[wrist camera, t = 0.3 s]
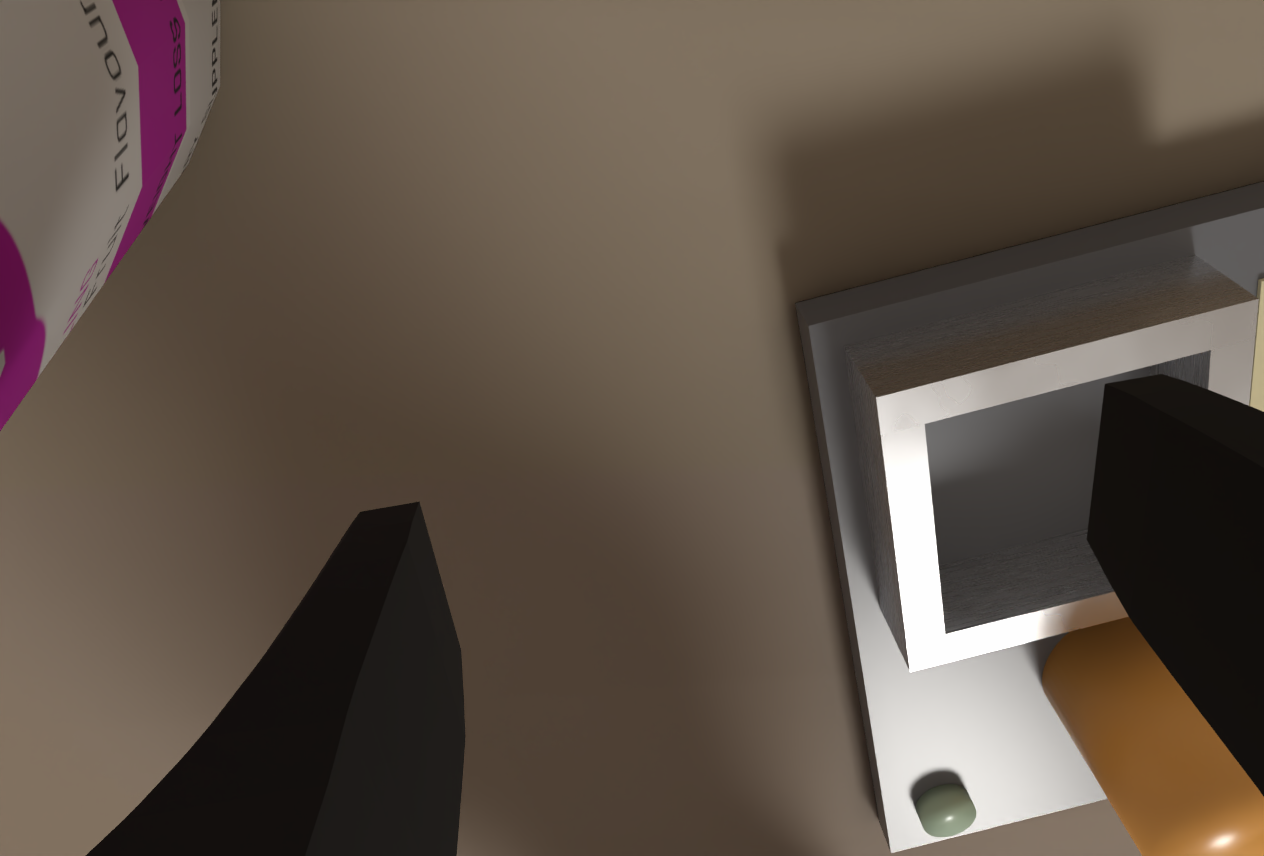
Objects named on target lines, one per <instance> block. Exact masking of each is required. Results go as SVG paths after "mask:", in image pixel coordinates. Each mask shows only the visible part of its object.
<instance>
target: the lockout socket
mask: <svg viewBox="0 0 1264 856" xmlns="http://www.w3.org/2000/svg"><path fill="white" fill-rule="evenodd" d="M1258 302H1259V299H1258V298H1257V297H1255V296H1254V295H1253V294H1251V293H1250V292H1248V291H1247V290H1245V289H1244V288H1243V287H1241V286H1240V285H1238V284H1237V283H1235V282H1234V281H1232V280H1231V279H1230V278H1228V277H1227V276H1225V275H1224V274H1222V273H1221V272H1219V271H1218V270H1217V269H1215V268H1214V267H1212V266H1211V265H1209V264H1208V263H1206V262H1205V261H1204V260H1202V259H1201V258H1199V257H1198V256H1196V255H1195V254H1194V255H1191V256H1187V257H1183V258H1179V259H1175V260H1171V261H1167V262H1164V263H1160V264H1156V265H1152V266H1148V267H1144V268H1140V269H1137V270H1133V271H1129V272H1125V273H1121V274H1117V275H1113V276H1110V277H1106V278H1102V279H1098V280H1094V281H1090V282H1086V283H1083V284H1079V285H1075V286H1071V287H1067V288H1063V289H1059V290H1056V291H1052V292H1048V293H1044V294H1040V295H1036V296H1032V297H1029V298H1025V299H1021V300H1017V301H1013V302H1009V303H1005V304H1002V305H998V306H994V307H990V308H986V309H982V310H978V311H975V312H971V313H967V314H963V315H959V316H955V317H951V318H948V319H944V320H940V321H936V322H932V323H928V324H924V325H921V326H917V327H913V328H909V329H905V330H901V331H897V332H894V333H890V334H886V335H882V336H878V337H874V338H870V339H867V340H863V341H859V342H855V343H851V344H847V345H844V352H845V359H846V366H847V374H848V381H849V388H850V395H851V403H852V410H853V417H854V424H855V431H856V439H857V446H858V453H859V460H860V467H861V475H862V482H863V489H864V496H865V504H866V511H867V518H868V525H869V532H870V540H871V547H872V554H873V561H874V568H875V576H876V583H877V590H878V597H879V605H880V610H881V612H882V614H883V616H884V618H885V620H886V622H887V624H888V626H889V629H890V631H891V633H892V635H893V637H894V639H895V641H896V643H897V645H898V648H899V650H900V652H901V654H902V656H903V658H904V660H905V662H906V664H907V667H908V669H909V671H910V672H913V671H917V670H921V669H924V668H928V667H932V666H936V665H940V664H944V663H948V662H952V661H956V660H960V659H964V658H968V657H972V656H976V655H980V654H984V653H987V652H991V651H995V650H999V649H1003V648H1007V647H1011V646H1015V645H1019V644H1023V643H1027V642H1031V641H1035V640H1039V639H1043V638H1047V637H1050V636H1054V635H1058V634H1062V633H1066V632H1070V631H1074V630H1078V629H1082V628H1086V627H1090V626H1094V625H1098V624H1102V623H1106V622H1110V621H1114V620H1117V619H1121V618H1125V617H1129V616H1128V614H1127V613H1126V611H1125V609H1124V607H1123V606H1122V604H1121V602H1120V600H1119V599H1118V597H1117V595H1116V594H1115V592H1114V590H1113V588H1112V587H1111V585H1110V583H1109V581H1108V579H1107V577H1106V575H1105V574H1104V572H1103V570H1102V568H1101V566H1100V564H1099V562H1098V560H1097V558H1096V556H1095V555H1094V553H1093V551H1092V549H1091V547H1090V545H1089V543H1088V541H1087V531H1088V528H1085V529H1081V530H1077V531H1073V532H1069V533H1065V534H1061V535H1057V536H1053V537H1050V538H1046V539H1042V540H1038V541H1034V542H1030V543H1026V544H1022V545H1018V546H1014V547H1010V548H1006V549H1003V550H999V551H995V552H991V553H987V554H983V555H979V556H975V557H971V558H967V559H963V560H959V561H956V562H952V563H948V564H944V565H940V566H938V557H937V546H936V536H935V526H934V515H933V505H932V495H931V485H930V474H929V464H928V454H927V444H926V433H925V424H926V423H930V422H934V421H938V420H942V419H946V418H949V417H953V416H957V415H961V414H965V413H969V412H973V411H977V410H981V409H984V408H988V407H992V406H996V405H1000V404H1004V403H1008V402H1012V401H1015V400H1019V399H1023V398H1027V397H1031V396H1035V395H1039V394H1043V393H1047V392H1050V391H1054V390H1058V389H1062V388H1066V387H1070V386H1074V385H1078V384H1081V383H1085V382H1089V381H1093V380H1097V379H1101V378H1105V377H1109V376H1112V375H1116V374H1120V373H1124V372H1128V371H1132V370H1136V369H1140V368H1144V367H1147V366H1150V376H1153V375H1158V374H1164V375H1167V376H1170V377H1173V378H1177V379H1180V380H1183V381H1186V382H1189V383H1192V384H1194V385H1197V386H1200V387H1203V388H1205V389H1208V390H1211V391H1213V392H1216V393H1218V394H1221V395H1223V396H1226V397H1228V398H1231V399H1233V400H1236V401H1239V402H1241V403H1243V404H1246V405H1248V406H1249V400H1250V389H1251V378H1252V367H1253V357H1254V346H1255V335H1256V324H1257V313H1258Z"/></svg>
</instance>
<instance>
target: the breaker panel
mask: <svg viewBox="0 0 1264 856" xmlns="http://www.w3.org/2000/svg"><path fill="white" fill-rule="evenodd" d="M1194 254H1195V255H1196V256H1198V257H1199V258H1201V259H1202V260H1204V261H1205V262H1206V263H1208V264H1209V265H1211V266H1212V267H1214V268H1215V269H1217V270H1218V271H1219V272H1221V273H1222V274H1224V275H1225V276H1227V277H1228V278H1230V279H1231V280H1232V281H1234V282H1235V283H1237V284H1238V285H1240V286H1241V287H1243V288H1244V289H1245V290H1247V291H1248V292H1250V293H1251V294H1253V295H1254V296H1255V297H1257V298H1258V299H1259V302H1258V313H1257V324H1256V335H1255V346H1254V357H1253V367H1252V378H1251V389H1250V400H1249V406H1251V407H1253V408H1256V409H1258V410H1261V411H1263V412H1264V182H1260V183H1256V184H1252V185H1248V186H1245V187H1241V188H1237V189H1233V190H1229V191H1225V192H1221V193H1218V194H1214V195H1210V196H1206V197H1202V198H1198V199H1195V200H1191V201H1187V202H1183V203H1179V204H1175V205H1172V206H1168V207H1164V208H1160V209H1156V210H1152V211H1148V212H1145V213H1141V214H1137V215H1133V216H1129V217H1125V218H1122V219H1118V220H1114V221H1110V222H1106V223H1102V224H1098V225H1095V226H1091V227H1087V228H1083V229H1079V230H1075V231H1072V232H1068V233H1064V234H1060V235H1056V236H1052V237H1048V238H1045V239H1041V240H1037V241H1033V242H1029V243H1025V244H1022V245H1018V246H1014V247H1010V248H1006V249H1002V250H998V251H995V252H991V253H987V254H983V255H979V256H975V257H972V258H968V259H964V260H960V261H956V262H952V263H949V264H945V265H941V266H937V267H933V268H929V269H925V270H922V271H918V272H914V273H910V274H906V275H902V276H899V277H895V278H891V279H887V280H883V281H879V282H875V283H872V284H868V285H864V286H860V287H856V288H852V289H849V290H845V291H841V292H837V293H833V294H829V295H825V296H822V297H818V298H814V299H810V300H806V301H802V302H799V303H795V304H796V311H797V317H798V323H799V329H800V335H801V342H802V348H803V354H804V360H805V366H806V372H807V379H808V385H809V391H810V397H811V403H812V409H813V416H814V422H815V428H816V434H817V440H818V447H819V453H820V459H821V465H822V471H823V477H824V484H825V490H826V496H827V502H828V508H829V514H830V521H831V527H832V533H833V539H834V545H835V552H836V558H837V564H838V570H839V576H840V582H841V589H842V595H843V601H844V607H845V613H846V619H847V626H848V632H849V638H850V644H851V650H852V657H853V663H854V669H855V675H856V681H857V687H858V694H859V700H860V706H861V712H862V718H863V724H864V731H865V737H866V743H867V749H868V755H869V762H870V768H871V774H872V780H873V786H874V792H875V799H876V805H877V811H878V817H879V823H880V825H881V828H882V830H883V833H884V836H885V838H886V841H887V844H888V846H889V849H890V852H891V853H893V852H897V851H901V850H905V849H909V848H913V847H917V846H921V845H925V844H929V843H933V842H937V841H941V840H945V839H949V838H953V837H957V836H961V835H965V834H969V833H973V832H977V831H981V830H985V829H989V828H993V827H997V826H1001V825H1005V824H1009V823H1013V822H1017V821H1021V820H1025V819H1029V818H1033V817H1037V816H1041V815H1045V814H1049V813H1053V812H1057V811H1061V810H1065V809H1069V808H1073V807H1077V806H1081V805H1085V804H1089V803H1093V802H1097V801H1101V800H1104V799H1108V798H1107V796H1106V795H1105V793H1104V791H1103V790H1102V788H1101V786H1100V785H1099V783H1098V782H1097V780H1096V778H1095V777H1094V775H1093V773H1092V772H1091V770H1090V768H1089V767H1088V765H1087V763H1086V762H1085V760H1084V758H1083V757H1082V755H1081V753H1080V752H1079V750H1078V748H1077V747H1076V745H1075V744H1074V742H1073V740H1072V739H1071V737H1070V735H1069V734H1068V732H1067V730H1066V729H1065V727H1064V725H1063V724H1062V722H1061V720H1060V719H1059V717H1058V715H1057V714H1056V712H1055V711H1054V709H1053V707H1052V706H1051V704H1050V702H1049V701H1048V699H1047V697H1046V695H1045V693H1044V690H1043V686H1042V674H1043V669H1044V666H1045V663H1046V661H1047V659H1048V657H1049V655H1050V653H1051V652H1052V650H1053V649H1054V648H1055V646H1056V645H1057V644H1058V643H1059V641H1060V640H1061V639H1062V638H1063V637H1064V636H1065V635H1066V634H1068V633H1069V632H1066V633H1062V634H1058V635H1054V636H1050V637H1047V638H1043V639H1039V640H1035V641H1031V642H1027V643H1023V644H1019V645H1015V646H1011V647H1007V648H1003V649H999V650H995V651H991V652H987V653H984V654H980V655H976V656H972V657H968V658H964V659H960V660H956V661H952V662H948V663H944V664H940V665H936V666H932V667H928V668H924V669H921V670H917V671H913V672H910V671H909V669H908V667H907V664H906V662H905V660H904V658H903V656H902V654H901V652H900V650H899V648H898V645H897V643H896V641H895V639H894V637H893V635H892V633H891V631H890V629H889V626H888V624H887V622H886V620H885V618H884V616H883V614H882V612H881V610H880V605H879V597H878V590H877V583H876V576H875V568H874V561H873V554H872V547H871V540H870V532H869V525H868V518H867V511H866V504H865V496H864V489H863V482H862V475H861V467H860V460H859V453H858V446H857V439H856V431H855V424H854V417H853V410H852V403H851V395H850V388H849V381H848V374H847V366H846V359H845V352H844V345H847V344H851V343H855V342H859V341H863V340H867V339H870V338H874V337H878V336H882V335H886V334H890V333H894V332H897V331H901V330H905V329H909V328H913V327H917V326H921V325H924V324H928V323H932V322H936V321H940V320H944V319H948V318H951V317H955V316H959V315H963V314H967V313H971V312H975V311H978V310H982V309H986V308H990V307H994V306H998V305H1002V304H1005V303H1009V302H1013V301H1017V300H1021V299H1025V298H1029V297H1032V296H1036V295H1040V294H1044V293H1048V292H1052V291H1056V290H1059V289H1063V288H1067V287H1071V286H1075V285H1079V284H1083V283H1086V282H1090V281H1094V280H1098V279H1102V278H1106V277H1110V276H1113V275H1117V274H1121V273H1125V272H1129V271H1133V270H1137V269H1140V268H1144V267H1148V266H1152V265H1156V264H1160V263H1164V262H1167V261H1171V260H1175V259H1179V258H1183V257H1187V256H1191V255H1194ZM1147 376H1150V366H1147V367H1144V368H1140V369H1136V370H1132V371H1128V372H1124V373H1120V374H1116V375H1112V376H1109V377H1105V378H1101V379H1097V380H1093V381H1089V382H1085V383H1081V384H1078V385H1074V386H1070V387H1066V388H1062V389H1058V390H1054V391H1050V392H1047V393H1043V394H1039V395H1035V396H1031V397H1027V398H1023V399H1019V400H1015V401H1012V402H1008V403H1004V404H1000V405H996V406H992V407H988V408H984V409H981V410H977V411H973V412H969V413H965V414H961V415H957V416H953V417H949V418H946V419H942V420H938V421H934V422H930V423H926V424H925V433H926V444H927V454H928V464H929V474H930V485H931V495H932V505H933V515H934V526H935V536H936V546H937V557H938V566H940V565H944V564H948V563H952V562H956V561H959V560H963V559H967V558H971V557H975V556H979V555H983V554H987V553H991V552H995V551H999V550H1003V549H1006V548H1010V547H1014V546H1018V545H1022V544H1026V543H1030V542H1034V541H1038V540H1042V539H1046V538H1050V537H1053V536H1057V535H1061V534H1065V533H1069V532H1073V531H1077V530H1081V529H1085V528H1088V523H1089V514H1090V506H1091V497H1092V489H1093V480H1094V472H1095V463H1096V455H1097V446H1098V437H1099V429H1100V420H1101V412H1102V403H1103V395H1104V386H1105V384H1106V383H1112V382H1118V381H1124V380H1129V379H1135V378H1141V377H1147Z"/></svg>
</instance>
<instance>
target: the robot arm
mask: <svg viewBox="0 0 1264 856" xmlns="http://www.w3.org/2000/svg"><path fill="white" fill-rule="evenodd" d="M1087 541H1088V543H1089V545H1090V547H1091V549H1092V551H1093V553H1094V555H1095V556H1096V558H1097V560H1098V562H1099V564H1100V566H1101V568H1102V570H1103V572H1104V574H1105V575H1106V577H1107V579H1108V581H1109V583H1110V585H1111V587H1112V588H1113V590H1114V592H1115V594H1116V595H1117V597H1118V599H1119V600H1120V602H1121V604H1122V606H1123V607H1124V609H1125V611H1126V613H1127V614H1128V616H1129V618H1130V619H1131V621H1132V622H1133V623H1134V625H1135V626H1136V627H1137V629H1138V630H1139V632H1140V633H1141V634H1142V636H1143V637H1144V639H1145V640H1146V641H1147V643H1148V644H1149V645H1150V647H1151V648H1152V649H1153V651H1154V652H1155V653H1156V655H1157V656H1158V657H1159V659H1160V660H1161V661H1162V663H1163V664H1164V665H1165V667H1166V668H1167V669H1168V671H1169V672H1170V673H1171V675H1172V676H1173V677H1174V679H1175V680H1176V681H1177V683H1178V684H1179V685H1180V687H1181V688H1182V689H1183V691H1184V692H1185V693H1186V695H1187V696H1188V697H1189V698H1190V700H1191V701H1192V702H1193V704H1194V705H1195V706H1196V708H1197V709H1198V710H1199V712H1200V713H1201V714H1202V716H1203V717H1204V718H1205V719H1206V721H1207V722H1208V723H1209V725H1210V726H1211V727H1212V729H1213V730H1214V731H1215V733H1216V734H1217V735H1218V737H1219V738H1220V739H1221V741H1222V742H1223V743H1224V744H1225V746H1226V747H1227V748H1228V750H1229V751H1230V752H1231V754H1232V755H1233V756H1234V758H1235V759H1236V760H1237V762H1238V763H1239V764H1240V766H1241V767H1242V768H1243V769H1244V771H1245V772H1246V773H1247V775H1248V776H1249V777H1250V779H1251V780H1252V781H1253V783H1254V784H1255V785H1256V787H1257V788H1258V789H1259V791H1260V792H1261V794H1262V795H1263V796H1264V412H1263V411H1261V410H1258V409H1256V408H1253V407H1251V406H1248V405H1246V404H1243V403H1241V402H1239V401H1236V400H1233V399H1231V398H1228V397H1226V396H1223V395H1221V394H1218V393H1216V392H1213V391H1211V390H1208V389H1205V388H1203V387H1200V386H1197V385H1194V384H1192V383H1189V382H1186V381H1183V380H1180V379H1177V378H1173V377H1170V376H1167V375H1164V374H1158V375H1153V376H1147V377H1141V378H1135V379H1129V380H1124V381H1118V382H1112V383H1106V384H1105V386H1104V395H1103V403H1102V412H1101V420H1100V429H1099V437H1098V446H1097V455H1096V463H1095V472H1094V480H1093V489H1092V497H1091V506H1090V514H1089V523H1088V531H1087ZM464 748H465V719H464V695H463V677H462V659H461V648H460V645H459V641H458V638H457V634H456V631H455V627H454V623H453V620H452V616H451V613H450V609H449V606H448V602H447V599H446V595H445V591H444V588H443V584H442V581H441V577H440V574H439V570H438V567H437V563H436V559H435V556H434V552H433V549H432V545H431V542H430V538H429V535H428V531H427V527H426V524H425V520H424V517H423V513H422V510H421V506H420V502H415V503H409V504H404V505H398V506H392V507H386V508H380V509H375V510H369V511H363V512H360V513H359V514H358V516H357V517H356V518H355V520H354V521H353V522H352V524H351V525H350V527H349V528H348V530H347V531H346V533H345V534H344V536H343V537H342V539H341V541H340V542H339V544H338V545H337V547H336V548H335V550H334V552H333V553H332V555H331V556H330V558H329V559H328V561H327V563H326V564H325V566H324V567H323V569H322V570H321V572H320V574H319V575H318V577H317V578H316V580H315V581H314V583H313V584H312V586H311V587H310V589H309V590H308V592H307V593H306V595H305V597H304V598H303V600H302V601H301V603H300V604H299V606H298V607H297V608H296V610H295V611H294V613H293V614H292V616H291V617H290V619H289V620H288V621H287V623H286V624H285V626H284V627H283V629H282V630H281V632H280V633H279V634H278V636H277V637H276V639H275V640H274V642H273V643H272V645H271V646H270V647H269V649H268V650H267V652H266V653H265V655H264V656H263V657H262V659H261V660H260V661H259V663H258V664H257V665H256V667H255V668H254V669H253V671H252V672H251V673H250V675H249V676H248V677H247V678H246V680H245V681H244V682H243V684H242V685H241V686H240V688H239V689H238V690H237V691H236V693H235V694H234V695H233V697H232V698H231V699H230V700H229V702H228V703H227V704H226V706H225V707H224V708H223V709H222V711H221V712H220V713H219V715H218V716H217V717H216V719H215V720H214V721H213V722H212V724H211V725H210V726H209V727H208V729H207V730H206V731H205V732H204V733H203V735H202V736H201V737H200V738H199V739H198V740H197V742H196V743H195V744H194V745H193V746H192V747H191V749H190V750H189V751H188V752H187V753H186V754H185V755H184V757H183V758H182V759H181V760H180V761H179V762H178V763H177V764H176V765H175V766H174V768H173V769H172V770H171V771H170V772H169V773H168V774H167V775H166V776H165V777H164V778H163V779H162V780H161V781H160V783H159V784H158V785H157V786H156V787H155V788H154V789H153V790H152V791H151V792H150V793H149V794H148V795H147V796H146V798H145V799H144V800H143V801H142V802H141V803H140V804H139V805H138V806H137V807H136V808H135V809H134V810H133V811H132V812H131V813H130V814H129V815H128V816H127V817H126V818H125V819H124V820H123V821H122V822H121V823H120V824H119V825H118V826H117V827H116V828H115V829H114V830H112V831H111V832H110V833H109V834H108V835H107V836H106V837H105V838H104V839H103V840H102V841H101V842H100V843H99V844H98V845H97V846H95V847H94V848H93V849H92V850H91V851H90V852H89V853H88V854H87V855H86V856H456V854H457V841H458V829H459V816H460V803H461V789H462V776H463V762H464Z"/></svg>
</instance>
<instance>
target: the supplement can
mask: <svg viewBox="0 0 1264 856" xmlns="http://www.w3.org/2000/svg"><path fill="white" fill-rule="evenodd" d="M219 88H220V0H0V431H1V429H2V428H3V426H4V425H5V424H6V422H7V421H8V419H9V418H10V416H11V415H12V414H13V412H14V411H15V409H16V408H17V407H18V405H19V404H20V402H21V401H22V399H23V398H24V397H25V395H26V394H27V392H28V391H29V390H30V388H31V387H32V385H33V384H34V382H35V381H36V380H37V378H38V377H39V375H40V374H41V373H42V371H43V370H44V368H45V367H46V365H47V364H48V363H49V361H50V360H51V358H52V357H53V355H54V354H55V353H56V351H57V350H58V348H59V347H60V346H61V344H62V343H63V341H64V340H65V338H66V337H67V336H68V334H69V333H70V331H71V330H72V329H73V327H74V326H75V324H76V323H77V321H78V320H79V319H80V317H81V316H82V314H83V313H84V312H85V310H86V309H87V307H88V306H89V304H90V303H91V302H92V300H93V299H94V297H95V296H96V294H97V293H98V292H99V290H100V289H101V287H102V286H103V285H104V283H105V282H106V280H107V279H108V277H109V276H110V275H111V273H112V272H113V270H114V269H115V268H116V266H117V265H118V263H119V262H120V260H121V259H122V258H123V256H124V255H125V253H126V252H127V251H128V249H129V248H130V246H131V245H132V243H133V242H134V241H135V239H136V238H137V236H138V235H139V233H140V232H141V231H142V229H143V228H144V226H145V225H146V224H147V222H148V221H149V219H150V218H151V216H152V215H153V214H154V212H155V211H156V209H157V208H158V207H159V205H160V204H161V202H162V201H163V199H164V198H165V197H166V195H167V194H168V192H169V191H170V190H171V188H172V187H173V185H174V184H175V182H176V181H177V180H178V178H179V177H180V175H181V174H182V173H183V171H184V170H185V168H186V167H187V165H188V164H189V161H190V159H191V156H192V154H193V151H194V149H195V147H196V144H197V142H198V139H199V137H200V134H201V132H202V129H203V127H204V124H205V122H206V120H207V117H208V115H209V112H210V110H211V107H212V105H213V102H214V100H215V97H216V95H217V92H218V90H219Z"/></svg>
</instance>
